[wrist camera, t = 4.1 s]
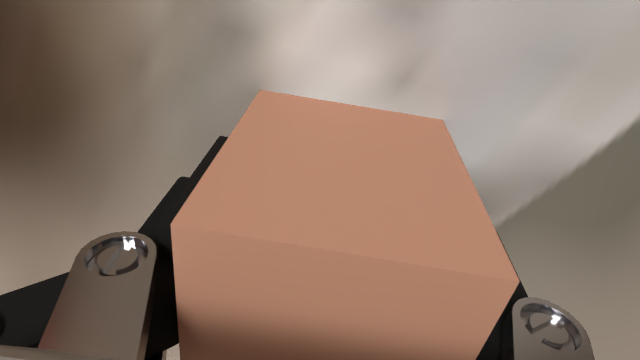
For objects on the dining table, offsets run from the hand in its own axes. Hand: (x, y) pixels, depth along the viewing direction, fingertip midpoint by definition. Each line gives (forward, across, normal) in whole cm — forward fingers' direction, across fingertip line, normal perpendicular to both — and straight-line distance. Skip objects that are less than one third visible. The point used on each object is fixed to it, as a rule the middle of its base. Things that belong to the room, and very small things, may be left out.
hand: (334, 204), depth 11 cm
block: (+1, 0, 0) cm, 1 cm away
